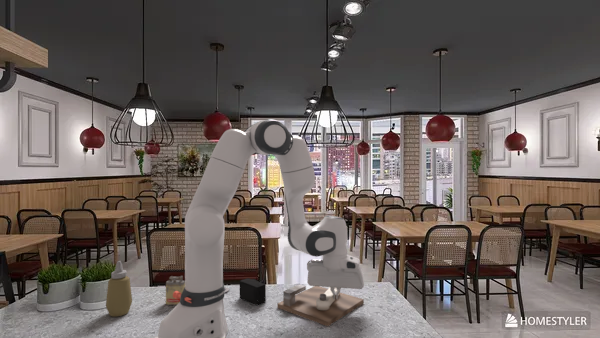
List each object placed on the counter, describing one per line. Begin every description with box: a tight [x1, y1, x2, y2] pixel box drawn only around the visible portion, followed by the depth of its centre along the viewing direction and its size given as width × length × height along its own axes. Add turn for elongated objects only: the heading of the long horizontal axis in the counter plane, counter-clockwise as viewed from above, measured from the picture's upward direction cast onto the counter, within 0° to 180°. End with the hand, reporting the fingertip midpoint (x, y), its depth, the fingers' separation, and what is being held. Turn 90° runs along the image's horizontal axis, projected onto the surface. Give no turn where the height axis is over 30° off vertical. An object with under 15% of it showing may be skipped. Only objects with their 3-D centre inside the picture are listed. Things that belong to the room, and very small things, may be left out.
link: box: [316, 287, 341, 311], centre depth 121 cm, size 18×5×2 cm, turn 156°
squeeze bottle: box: [105, 260, 133, 318], centre depth 114 cm, size 8×8×18 cm
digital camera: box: [239, 278, 267, 307], centre depth 126 cm, size 10×5×7 cm, turn 48°
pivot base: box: [276, 283, 365, 327], centre depth 121 cm, size 23×22×6 cm
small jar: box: [165, 275, 185, 306], centre depth 123 cm, size 7×4×10 cm, turn 89°
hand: (335, 298), depth 120 cm, fingers closed, pressing on link
